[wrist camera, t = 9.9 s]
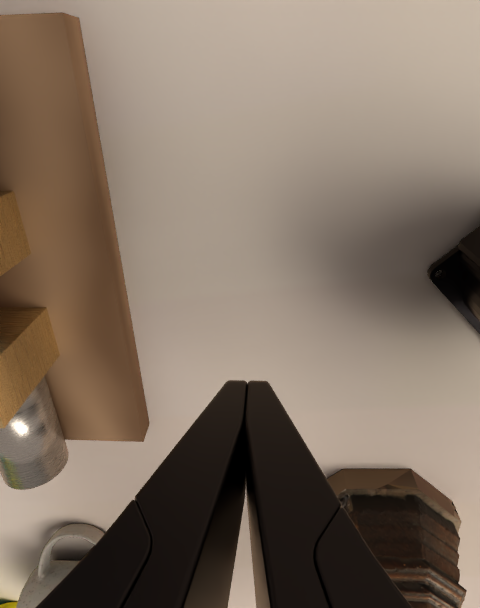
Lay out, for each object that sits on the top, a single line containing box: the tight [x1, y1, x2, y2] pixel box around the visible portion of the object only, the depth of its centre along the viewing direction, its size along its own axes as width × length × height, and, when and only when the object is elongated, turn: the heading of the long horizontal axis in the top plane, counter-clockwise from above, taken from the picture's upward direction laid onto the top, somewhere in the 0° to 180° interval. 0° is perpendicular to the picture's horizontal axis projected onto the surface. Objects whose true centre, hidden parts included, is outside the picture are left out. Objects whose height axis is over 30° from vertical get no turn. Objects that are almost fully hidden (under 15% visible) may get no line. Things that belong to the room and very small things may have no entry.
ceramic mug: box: [16, 524, 104, 608], centre depth 32 cm, size 10×8×7 cm
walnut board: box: [0, 13, 149, 442], centre depth 22 cm, size 12×22×2 cm, turn 1°
